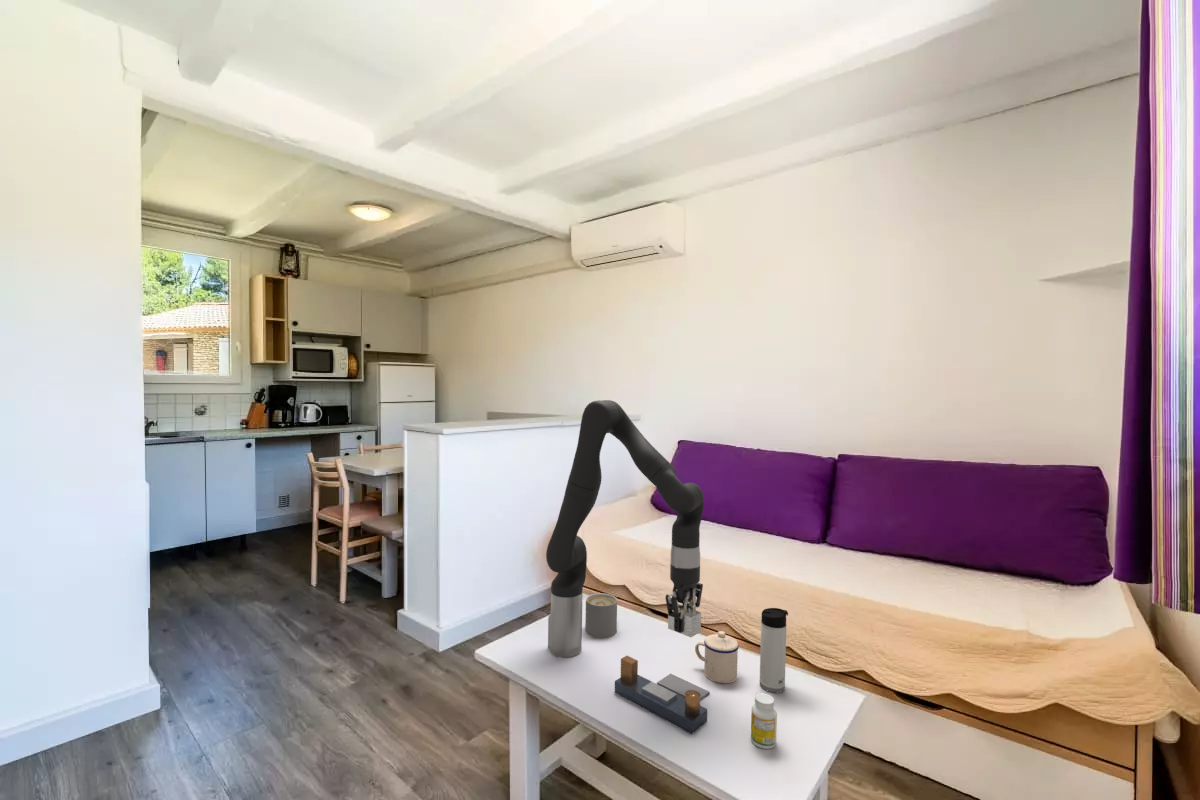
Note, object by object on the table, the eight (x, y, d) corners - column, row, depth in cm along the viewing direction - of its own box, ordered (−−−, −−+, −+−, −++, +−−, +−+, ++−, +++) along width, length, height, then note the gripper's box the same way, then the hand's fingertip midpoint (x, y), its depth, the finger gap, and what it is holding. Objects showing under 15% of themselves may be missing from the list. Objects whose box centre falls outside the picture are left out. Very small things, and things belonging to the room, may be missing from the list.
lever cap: (668, 628, 136) (668, 606, 135) (677, 623, 139) (678, 601, 139) (691, 637, 131) (691, 614, 131) (700, 631, 134) (701, 609, 134)
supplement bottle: (770, 753, 112) (771, 708, 112) (746, 742, 115) (747, 698, 115) (780, 740, 116) (781, 697, 116) (756, 730, 119) (757, 688, 119)
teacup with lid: (742, 673, 143) (743, 630, 143) (730, 688, 136) (731, 643, 136) (701, 659, 150) (702, 619, 150) (688, 673, 143) (688, 630, 143)
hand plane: (614, 692, 133) (615, 661, 133) (630, 682, 138) (631, 652, 138) (691, 734, 117) (692, 699, 117) (707, 721, 122) (707, 687, 122)
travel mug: (787, 694, 134) (789, 616, 133) (760, 691, 135) (762, 614, 134) (784, 681, 140) (786, 606, 139) (758, 678, 141) (760, 604, 140)
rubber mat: (657, 684, 137) (657, 682, 137) (670, 675, 141) (670, 673, 141) (696, 704, 129) (696, 701, 129) (709, 693, 133) (709, 691, 133)
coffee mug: (601, 641, 160) (601, 608, 160) (578, 630, 167) (579, 599, 167) (630, 627, 170) (630, 596, 169) (607, 617, 176) (608, 588, 176)
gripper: (688, 552, 142) (687, 615, 143) (656, 565, 132) (655, 633, 132) (712, 559, 137) (711, 624, 137) (681, 572, 127) (680, 643, 127)
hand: (684, 628), depth 135 cm, fingers closed on lever cap, 4 cm apart
